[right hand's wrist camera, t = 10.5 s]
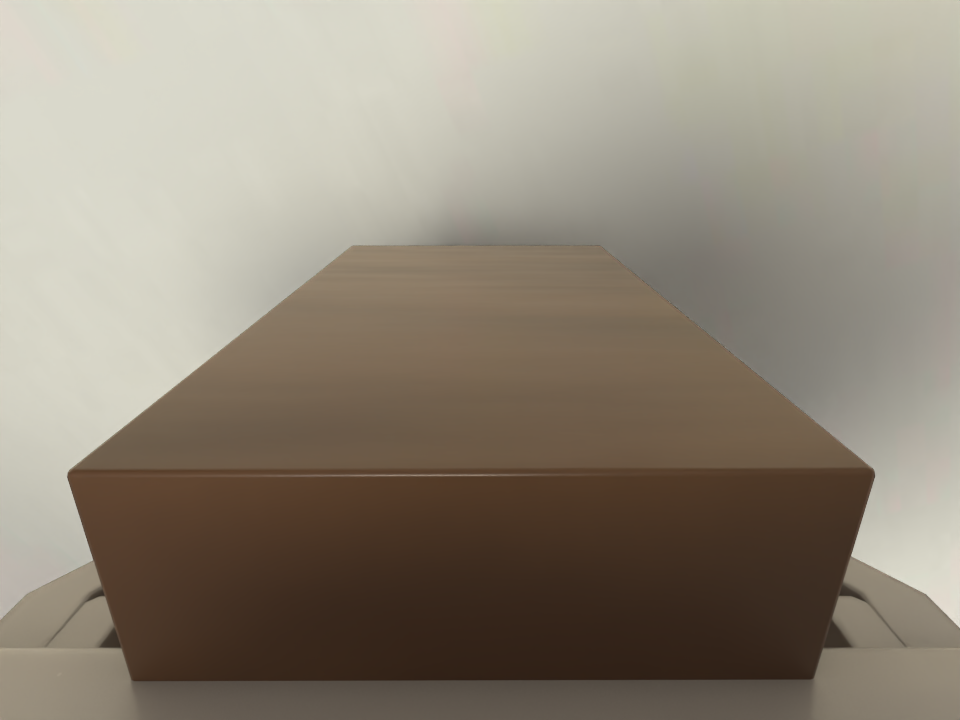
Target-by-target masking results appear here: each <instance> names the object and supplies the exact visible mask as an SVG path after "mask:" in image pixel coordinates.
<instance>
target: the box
mask: <svg viewBox="0 0 960 720" xmlns="http://www.w3.org/2000/svg"><path fill="white" fill-rule="evenodd" d="M67 478H68V481H69V484H70V487H71V490H72V494H73V497H74V500H75V503H76V506H77V509H78V513H79V516H80V519H81V522H82V525H83V528H84V532H85V535H86V538H87V541H88V544H89V548H90V551H91V554H92V557H93V560H94V563H95V567H96V570H97V573H98V576H99V579H100V582H101V586H102V589H103V592H104V595H105V598H106V601H107V605H108V608H109V611H110V614H111V617H112V620H113V624H114V627H115V630H116V633H117V636H118V639H119V643H120V646H121V649H122V652H123V655H124V659H125V662H126V665H127V668H128V671H129V674H130V678H131V680H133V681H427V680H811V679H813V678H814V676H815V673H816V670H817V667H818V663H819V660H820V657H821V653H822V650H823V647H824V643H825V640H826V637H827V633H828V630H829V627H830V624H831V620H832V617H833V614H834V610H835V607H836V604H837V600H838V597H839V594H840V590H841V587H842V584H843V580H844V577H845V574H846V571H847V567H848V564H849V561H850V557H851V554H852V551H853V547H854V544H855V541H856V537H857V534H858V531H859V527H860V524H861V521H862V518H863V514H864V511H865V508H866V504H867V501H868V498H869V494H870V491H871V488H872V484H873V481H874V478H875V472H874V470H873V468H871V467H870V466H869V465H868V464H866V463H865V462H864V461H863V460H862V459H860V458H859V457H858V456H857V455H855V454H854V453H853V452H852V451H851V450H849V449H848V448H847V447H846V446H844V445H843V444H842V443H841V442H840V441H838V440H837V439H836V438H835V437H833V436H832V435H831V434H830V433H829V432H827V431H826V430H825V429H824V428H822V427H821V426H820V425H819V424H818V423H816V422H815V421H814V420H813V419H811V418H810V417H809V416H808V415H807V414H805V413H804V412H803V411H802V410H800V409H799V408H798V407H797V406H795V405H794V404H793V403H792V402H791V401H789V400H788V399H787V398H786V397H784V396H783V395H782V394H781V393H780V392H778V391H777V390H776V389H775V388H773V387H772V386H771V385H770V384H769V383H767V382H766V381H765V380H764V379H762V378H761V377H760V376H759V375H758V374H756V373H755V372H754V371H753V370H751V369H750V368H749V367H748V366H747V365H745V364H744V363H743V362H742V361H740V360H739V359H738V358H737V357H736V356H734V355H733V354H732V353H731V352H729V351H728V350H727V349H726V348H725V347H723V346H722V345H721V344H720V343H718V342H717V341H716V340H715V339H714V338H712V337H711V336H710V335H709V334H707V333H706V332H705V331H704V330H703V329H701V328H700V327H699V326H698V325H696V324H695V323H694V322H693V321H692V320H690V319H689V318H688V317H687V316H685V315H684V314H683V313H682V312H681V311H679V310H678V309H677V308H676V307H674V306H673V305H672V304H671V303H670V302H668V301H667V300H666V299H665V298H663V297H662V296H661V295H660V294H659V293H657V292H656V291H655V290H654V289H652V288H651V287H650V286H649V285H648V284H646V283H645V282H644V281H643V280H641V279H640V278H639V277H638V276H637V275H635V274H634V273H633V272H632V271H630V270H629V269H628V268H627V267H626V266H624V265H623V264H622V263H621V262H619V261H618V260H617V259H616V258H615V257H613V256H612V255H611V254H610V253H608V252H607V251H606V250H605V249H604V248H602V247H601V246H351V247H350V248H349V249H348V250H346V251H345V252H344V253H343V254H341V255H340V256H339V257H338V258H336V259H335V260H334V261H333V262H331V263H330V264H329V265H327V266H326V267H325V268H324V269H322V270H321V271H320V272H319V273H317V274H316V275H315V276H314V277H312V278H311V279H310V280H309V281H307V282H306V283H305V284H304V285H302V286H301V287H300V288H298V289H297V290H296V291H295V292H293V293H292V294H291V295H290V296H288V297H287V298H286V299H285V300H283V301H282V302H281V303H280V304H278V305H277V306H276V307H275V308H273V309H272V310H271V311H269V312H268V313H267V314H266V315H264V316H263V317H262V318H261V319H259V320H258V321H257V322H256V323H254V324H253V325H252V326H251V327H249V328H248V329H247V330H246V331H244V332H243V333H242V334H240V335H239V336H238V337H237V338H235V339H234V340H233V341H232V342H230V343H229V344H228V345H227V346H225V347H224V348H223V349H222V350H220V351H219V352H218V353H217V354H215V355H214V356H213V357H211V358H210V359H209V360H208V361H206V362H205V363H204V364H203V365H201V366H200V367H199V368H198V369H196V370H195V371H194V372H193V373H191V374H190V375H189V376H188V377H186V378H185V379H184V380H182V381H181V382H180V383H179V384H177V385H176V386H175V387H174V388H172V389H171V390H170V391H169V392H167V393H166V394H165V395H164V396H162V397H161V398H160V399H159V400H157V401H156V402H155V403H153V404H152V405H151V406H150V407H148V408H147V409H146V410H145V411H143V412H142V413H141V414H140V415H138V416H137V417H136V418H135V419H133V420H132V421H131V422H130V423H128V424H127V425H126V426H124V427H123V428H122V429H121V430H119V431H118V432H117V433H116V434H114V435H113V436H112V437H111V438H109V439H108V440H107V441H106V442H104V443H103V444H102V445H101V446H99V447H98V448H97V449H95V450H94V451H93V452H92V453H90V454H89V455H88V456H87V457H85V458H84V459H83V460H82V461H80V462H79V463H78V464H77V465H75V466H74V467H73V468H72V469H70V470H69V472H68V476H67Z"/></svg>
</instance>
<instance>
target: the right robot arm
mask: <svg viewBox="0 0 960 720" xmlns="http://www.w3.org/2000/svg"><path fill="white" fill-rule="evenodd" d="M0 720H960V628H959V627H958V626H957V625H956V624H955V623H954V622H953V621H952V620H951V619H950V618H949V617H948V616H947V615H946V614H945V613H944V612H943V611H942V610H941V609H940V608H939V607H938V606H937V605H936V604H935V603H934V602H933V601H932V600H931V599H930V598H929V597H928V596H927V595H926V594H924V593H922V592H920V591H918V590H916V589H914V588H912V587H910V586H908V585H906V584H904V583H902V582H900V581H898V580H897V579H895V578H893V577H891V576H889V575H887V574H885V573H883V572H881V571H879V570H877V569H875V568H873V567H871V566H869V565H867V564H865V563H863V562H861V561H859V560H857V559H855V558H853V557H850V561H849V564H848V567H847V571H846V574H845V577H844V580H843V584H842V587H841V590H840V594H839V597H838V600H837V604H836V607H835V610H834V614H833V617H832V620H831V624H830V627H829V630H828V633H827V637H826V640H825V643H824V647H823V650H822V653H821V657H820V660H819V663H818V667H817V670H816V673H815V676H814V678H813V679H811V680H427V681H133V680H131V678H130V674H129V671H128V668H127V665H126V662H125V659H124V655H123V652H122V649H121V646H120V643H119V639H118V636H117V633H116V630H115V627H114V624H113V620H112V617H111V614H110V611H109V608H108V605H107V601H106V598H105V595H104V592H103V589H102V586H101V582H100V579H99V576H98V573H97V570H96V567H95V563H94V561H92V562H90V563H88V564H86V565H84V566H82V567H80V568H78V569H76V570H74V571H72V572H70V573H68V574H66V575H64V576H62V577H60V578H58V579H56V580H54V581H52V582H50V583H48V584H46V585H44V586H42V587H40V588H38V589H36V590H34V591H32V592H30V593H28V594H27V595H26V596H25V597H24V598H23V599H22V600H21V601H20V602H19V603H17V604H16V605H15V606H14V607H13V608H12V609H11V610H10V611H9V612H8V613H7V614H6V615H5V616H4V617H3V618H2V619H1V620H0Z"/></svg>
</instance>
